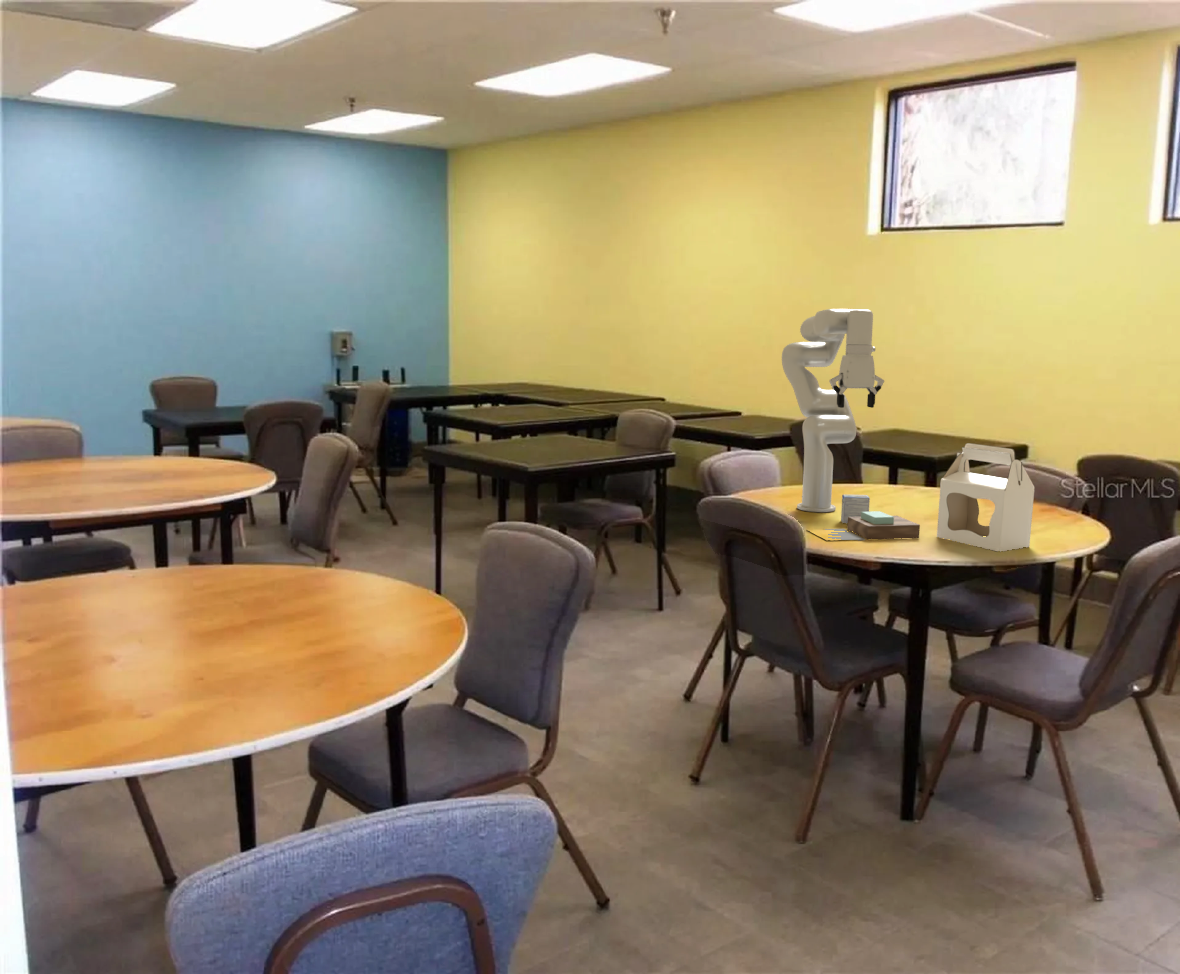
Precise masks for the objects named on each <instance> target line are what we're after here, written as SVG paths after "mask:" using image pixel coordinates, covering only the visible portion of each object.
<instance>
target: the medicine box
mask: <svg viewBox="0 0 1180 974" xmlns="http://www.w3.org/2000/svg"><path fill="white" fill-rule="evenodd" d="M870 500H871V498H870V497H869V495H867V494H844V493H843V494H842V497H841V512H840V514H841V515H840V516H841V518H840V521H841V523H842V524H843V523H846V524H847V523H848V517H861V512H870ZM846 524H845V525H846ZM847 525H848V524H847Z"/></svg>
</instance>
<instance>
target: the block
mask: <svg viewBox="0 0 1180 974" xmlns="http://www.w3.org/2000/svg"><path fill="white" fill-rule="evenodd" d="M893 516H894V515H890V514H888V513H885V512H883V511H880V510H878V511H877V510H876V511H875V510H874V511H869V512H861V519H864V520H866V521H868V522H870V523H873V524H894V517H893Z"/></svg>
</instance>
